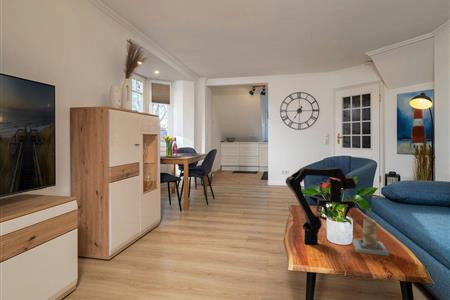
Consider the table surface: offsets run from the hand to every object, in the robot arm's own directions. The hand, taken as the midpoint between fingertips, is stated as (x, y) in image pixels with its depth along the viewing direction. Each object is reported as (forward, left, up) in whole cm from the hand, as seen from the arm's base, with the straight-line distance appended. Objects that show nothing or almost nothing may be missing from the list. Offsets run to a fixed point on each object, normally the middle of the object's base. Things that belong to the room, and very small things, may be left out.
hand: (335, 217), depth 139 cm
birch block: (+15, -7, -12) cm, 20 cm away
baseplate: (+15, -7, -13) cm, 21 cm away
